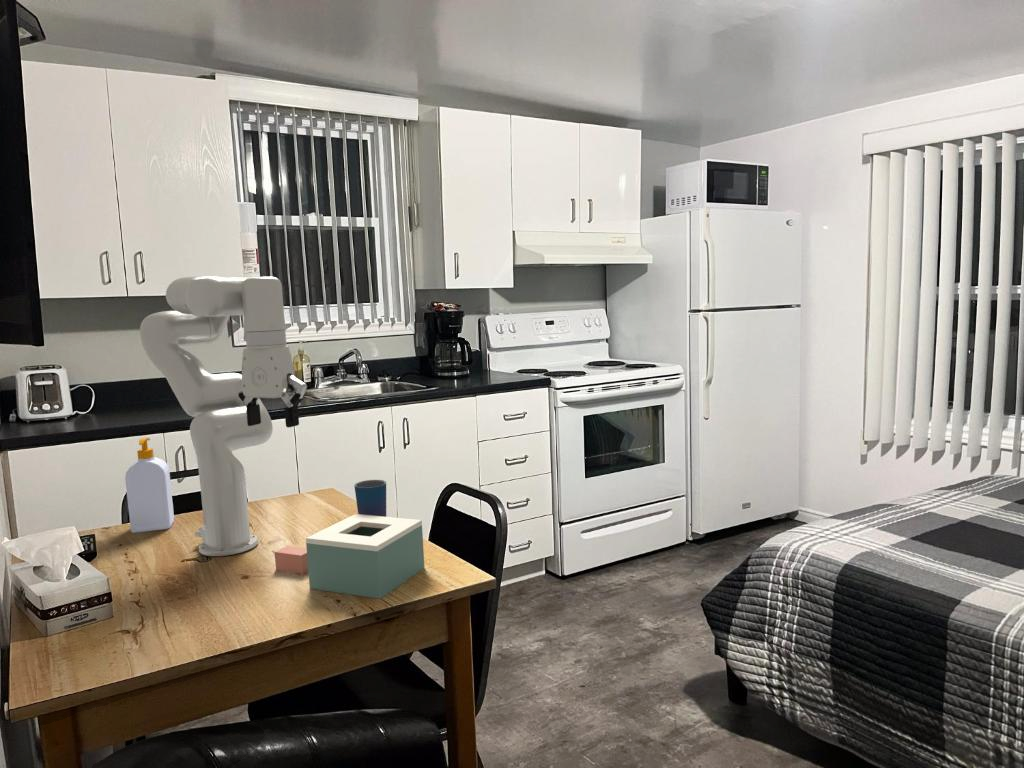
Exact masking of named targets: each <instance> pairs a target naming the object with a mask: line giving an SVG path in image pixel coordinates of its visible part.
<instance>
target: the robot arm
mask: <svg viewBox="0 0 1024 768" xmlns="http://www.w3.org/2000/svg"><path fill="white" fill-rule="evenodd" d="M282 285H283V284H282V282H281V280H280V279H279V278H277V277H275V276H255V277H251V276H250V277H221V276H211V275H206V276H205V275H204V276H183V277H179V278H176V279H175V280H173V281H171V283H170V284H169V285H168V286H167V289H166V290H165V299H166V301H167V304H168V305H169V306H170V307H171V309H172V310H166V311H165V310H164V311H158V312H155V313H154V312H153V313H151V314H149V315H148V316H146V317H145V318H143V320H142V321H141V323H140V327H139V328H140V329H139V334H140V340H141V343H142V347H143V349H144V352H145V354H146V355H147V357H148V358H149V360H150V361H151V363H152V364H153V365H154V366H155V368H156V369H157V370H159V372H161V374H162V375H163V376H164V377H165V379H166V380H167V382H168V384H169V386H170V388H171V391H172V392H173V393H174V395H175V397H176V399H177V401H178V402H179V405H180V406H181V408H182V409H183V411H184V412H185V413H186V414H187V415H188V416H191V417H193V419H192V421H191V423H190V425H189V434H190V438H191V439H190V440H191V443H192V445H193V448H194V449H193V450H194V452H195V457H196V462H197V468H198V477H199V485H200V495H201V506H202V517H203V525H201V526H199V527H198V530H196V531H195V532H194V536H195V537H196V538H202V543H201V544H199V546H198V552H199V554H201V555H203V556H208V557H224V556H231V555H232V556H233V555H235V554H240V553H244V552H246V551H249V550H252V549H253V548H255V547H256V546H257V545H258V544H259V538H258V536H257V535H254V534H251V530H250V518H249V516H250V515H249V507H248V495H247V484H246V483H247V482H246V473H245V468H244V466H243V464H242V462H240V460H239V459H238V458H237V457H236V456H235V455H234V453H233V451H237V450H239V449H240V450H241V449H243V448H250V447H255V446H259V445H263V444H265V443H266V442H268V441H269V440H270V439H271V437H272V434H273V431H274V430H273V422H272V419H271V416H270V414H269V411H268V410H267V408H266V407H265V404H264V403H263V402H262V400H261V399H278V398H280V399H281V400H282V401H283V403H285V405H286V406H285V407H284V418H285V426H286V428H292V427H296V426H299V425H300V420H299V419H300V416H299V406H301V405H302V404H301V402H303V401H302V400H303V399H304V398H305V393H306V391H307V388H308V385H307V383H305V382H304V381H302V380H300V379H299V378H297V376H296V375H295V369H294V363H293V362H294V361H293V357H292V355H291V350H290V348H289V345H287V337H286V336H287V335H286V323H285V322H286V321H285V312H284V311H285V309H284V298H283V297H284V296H283V286H282ZM231 316H243V322H244V329H245V330H244V332H245V335H243V341H244V342H246V344H245V345H246V347H244V348H243V349H242V358H241V373H237V372H226V373H225V372H223V373H216V374H214V373H210V372H208V371H207V369H206V368H205V365H204V363H202V361H201V360H200V359H199V358H198V357H197V356H196V355H195V354H193V353H191V352H189V351H188V350H185V349H184V348H183V347H188V346H200V345H210V344H213V343H215V342H217V341H218V340H219V339H220V338H221V336H222V334H223V332H224V330H225V328H226V325H227V323H228V321H229V319H230V317H231Z"/></svg>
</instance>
